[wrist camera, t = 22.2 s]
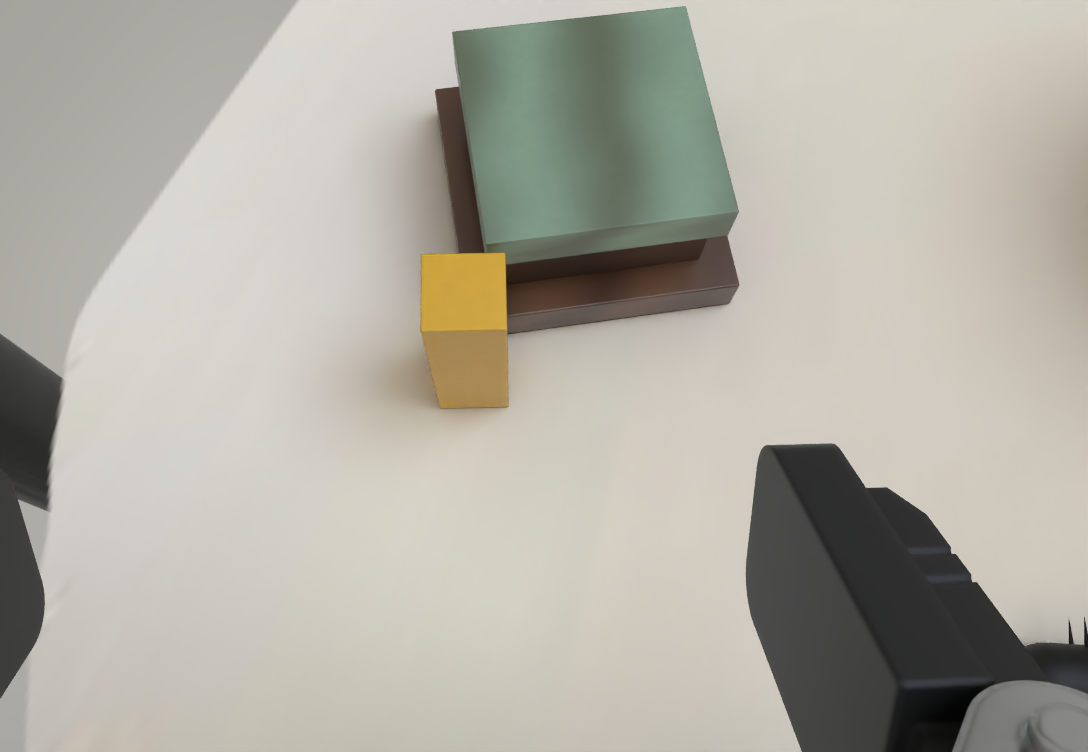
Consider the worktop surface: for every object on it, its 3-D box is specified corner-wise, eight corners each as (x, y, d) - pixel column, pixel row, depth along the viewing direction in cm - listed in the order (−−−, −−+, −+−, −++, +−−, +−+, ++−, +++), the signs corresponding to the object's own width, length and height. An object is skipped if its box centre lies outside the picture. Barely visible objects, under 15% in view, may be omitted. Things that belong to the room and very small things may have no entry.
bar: (439, 408, 40) (420, 331, 32) (440, 344, 41) (421, 253, 33) (508, 407, 41) (507, 329, 32) (507, 343, 42) (505, 252, 33)
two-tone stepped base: (470, 339, 42) (462, 271, 35) (437, 114, 45) (425, 14, 39) (730, 303, 43) (770, 231, 36) (676, 86, 46) (703, -16, 40)
